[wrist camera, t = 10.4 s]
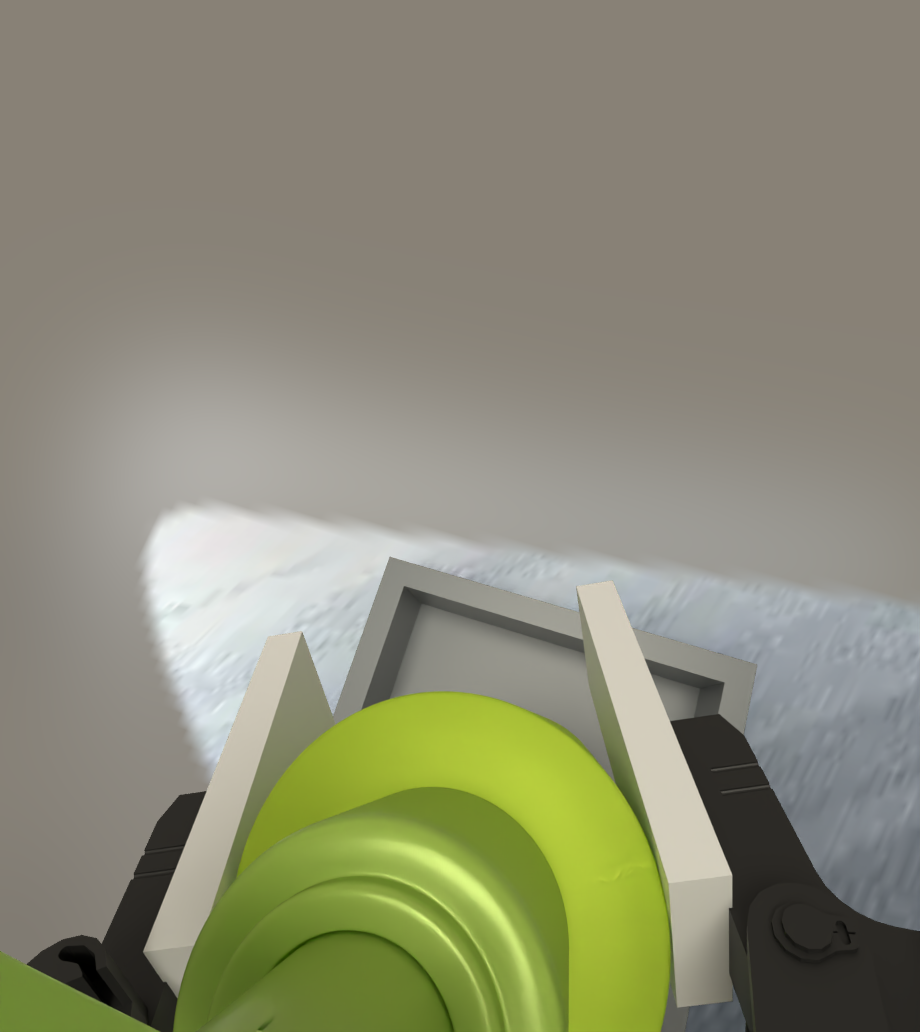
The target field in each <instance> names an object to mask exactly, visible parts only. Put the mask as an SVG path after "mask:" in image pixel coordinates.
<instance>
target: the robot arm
mask: <svg viewBox="0 0 920 1032" xmlns="http://www.w3.org/2000/svg"><path fill="white" fill-rule="evenodd" d="M576 588H577V596H578V604H579V612H580V620H581V628H582V635H583V643H584V651H585V659H586V667H587V675H588V683H589V688H590V692H591V696H592V699H593V703H594V706H595V710H596V714H597V717H598V721H599V725H600V728H601V732H602V736H603V739H604V743H605V747H606V750H607V754H608V757H609V761H610V765H611V768H612V772H613V776H614V779H615V783H616V785H617V787H618V788H619V790H620V791H621V793H622V794H623V795H624V797H625V799H626V800H627V802H628V803H629V805H630V807H631V808H632V810H633V812H634V814H635V816H636V817H637V819H638V821H639V823H640V825H641V827H642V829H643V831H644V834H645V836H646V838H647V840H648V843H649V845H650V848H651V850H652V853H653V856H654V859H655V862H656V865H657V868H658V871H659V875H660V878H661V882H662V887H663V891H664V896H665V901H666V906H667V913H668V920H669V930H670V947H671V966H670V983H671V987H672V990H673V994H674V998H675V1001H676V1005H677V1008H678V1007H687V1006H695V1005H704V1004H712V1003H721V1002H730V1001H733V991H732V983H733V986H734V989H735V991H736V994H737V997H738V1000H739V1003H740V1006H741V1009H742V1011H743V1014H744V1017H745V1020H746V1031H745V1032H920V931H914V930H909V929H904V928H899V927H894V926H891V925H887V924H884V923H880V922H877V921H874V920H872V919H870V918H868V917H866V916H864V915H862V914H860V913H858V912H856V911H854V910H853V909H852V908H850V907H849V906H847V905H846V904H844V903H843V902H842V901H840V900H839V899H838V898H837V897H836V896H835V895H834V894H833V893H832V892H831V891H830V890H829V889H828V888H827V887H826V886H825V884H824V883H823V881H822V880H821V878H820V877H819V875H818V874H817V872H816V871H815V869H814V867H813V865H812V863H811V861H810V859H809V857H808V855H807V854H806V852H805V850H804V848H803V846H802V844H801V842H800V840H799V838H798V837H797V835H796V833H795V831H794V829H793V827H792V825H791V823H790V821H789V820H788V818H787V816H786V814H785V812H784V810H783V808H782V806H781V804H780V803H779V801H778V799H777V797H776V795H775V793H774V791H773V789H771V788H770V785H769V782H768V780H767V778H766V776H765V774H764V772H763V770H762V769H761V767H759V765H758V761H757V759H756V757H755V755H754V753H753V752H752V750H751V748H750V746H749V744H748V742H747V740H746V738H745V736H744V735H743V734H742V733H741V732H740V731H739V730H737V729H736V728H735V727H734V726H733V725H732V724H730V723H729V722H728V721H727V720H726V719H725V718H723V717H722V716H721V715H720V714H715V715H708V716H701V717H694V718H688V719H681V720H674V721H669V718H668V716H667V713H666V711H665V708H664V706H663V703H662V701H661V698H660V696H659V693H658V691H657V689H656V686H655V684H654V681H653V679H652V676H651V674H650V671H649V669H648V666H647V664H646V661H645V659H644V657H643V654H642V652H641V649H640V647H639V644H638V642H637V639H636V637H635V634H634V632H633V629H632V627H631V625H630V622H629V620H628V617H627V615H626V612H625V610H624V607H623V605H622V602H621V600H620V597H619V595H618V593H617V590H616V588H615V585H614V583H613V580H612V581H606V582H600V583H594V584H588V585H582V586H576ZM334 725H336V724H335V721H334V718H333V716H332V713H331V710H330V707H329V705H328V702H327V699H326V696H325V694H324V691H323V688H322V685H321V682H320V680H319V677H318V674H317V671H316V669H315V666H314V663H313V660H312V657H311V655H310V652H309V649H308V646H307V644H306V641H305V638H304V635H303V633H302V631H300V632H294V633H288V634H282V635H275V636H269V637H268V638H267V640H266V643H265V646H264V648H263V651H262V653H261V656H260V658H259V661H258V663H257V666H256V668H255V671H254V673H253V676H252V678H251V681H250V683H249V686H248V688H247V691H246V693H245V696H244V698H243V701H242V704H241V706H240V709H239V711H238V714H237V716H236V719H235V721H234V724H233V726H232V729H231V731H230V734H229V736H228V739H227V741H226V744H225V746H224V749H223V751H222V754H221V756H220V759H219V762H218V764H217V767H216V769H215V772H214V774H213V777H212V779H211V782H210V784H209V787H208V789H207V791H204V792H198V793H191V794H184V795H179V797H178V798H177V799H176V800H175V802H173V804H172V805H171V806H170V807H169V808H168V810H167V811H166V812H165V813H164V814H163V816H162V817H161V818H160V819H159V820H158V822H157V824H156V826H155V828H154V830H153V832H152V835H151V837H150V839H149V841H148V843H147V846H146V848H145V855H144V856H142V857H141V859H140V861H139V864H138V866H137V868H136V870H135V872H134V879H133V880H131V881H130V883H129V885H128V887H127V890H126V892H125V894H124V896H123V898H122V901H121V903H120V905H119V907H118V909H117V912H116V914H115V916H114V918H113V921H112V923H111V925H110V927H109V929H108V931H107V934H106V936H105V938H104V940H103V942H102V944H101V943H100V942H99V941H98V940H97V938H93V937H88V936H84V935H80V936H76V937H71V938H67V939H63V940H61V941H59V942H57V943H56V944H54V945H52V946H50V947H48V948H47V949H45V950H43V951H41V952H40V953H39V954H38V955H37V956H36V957H34V959H32V960H31V961H30V962H29V963H28V964H26V965H28V966H30V967H32V968H34V969H36V970H38V971H40V972H42V973H44V974H46V975H48V976H50V977H52V978H54V979H56V980H58V981H60V982H62V983H64V984H66V985H68V986H70V987H72V988H74V989H76V990H78V991H80V992H82V993H84V994H86V995H88V996H90V997H92V998H94V999H96V1000H98V1001H100V1002H102V1003H104V1004H106V1005H108V1006H110V1007H112V1008H114V1009H116V1010H118V1011H120V1012H122V1013H124V1014H126V1015H128V1016H130V1017H132V1018H134V1019H136V1020H138V1021H140V1022H142V1023H144V1024H146V1025H148V1026H150V1027H152V1028H154V1029H156V1030H158V1031H160V1032H173V1026H174V1017H175V1011H176V1005H177V1000H178V995H179V990H180V986H181V982H182V979H183V975H184V972H185V969H186V966H187V963H188V960H189V957H190V954H191V952H192V949H193V947H194V944H195V942H196V940H197V938H198V936H199V933H200V931H201V930H202V928H203V926H204V924H205V922H206V920H207V918H208V917H209V915H210V913H211V912H212V910H213V908H214V907H215V905H216V904H217V902H218V901H219V899H220V898H221V897H222V895H223V894H224V893H225V891H226V890H227V889H228V888H229V886H230V885H231V884H232V883H233V882H234V881H235V879H236V877H237V872H238V868H239V864H240V861H241V857H242V854H243V851H244V848H245V845H246V842H247V839H248V837H249V834H250V832H251V829H252V827H253V825H254V822H255V820H256V818H257V816H258V814H259V812H260V810H261V808H262V806H263V804H264V803H265V801H266V799H267V797H268V796H269V794H270V793H271V791H272V789H273V788H274V786H275V785H276V783H277V782H278V781H279V779H280V778H281V776H282V775H283V774H284V773H285V771H286V770H287V769H288V768H289V766H290V765H291V764H292V763H293V762H294V761H295V759H296V758H297V757H298V756H299V755H300V754H301V753H302V752H303V751H304V750H305V749H306V748H307V747H308V746H309V745H310V744H311V743H312V742H314V741H315V740H316V739H317V738H318V737H319V736H321V735H322V734H323V733H325V732H326V731H327V730H328V729H330V728H331V727H333V726H334Z"/></svg>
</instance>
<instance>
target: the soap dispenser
mask: <svg viewBox="0 0 920 1032" xmlns="http://www.w3.org/2000/svg"><path fill="white" fill-rule="evenodd" d="M670 966H671V947H670V930H669V920H668V913H667V906H666V901H665V896H664V891H663V887H662V882H661V878H660V875H659V871H658V868H657V865H656V862H655V859H654V856H653V853H652V850H651V848H650V845H649V843H648V840H647V838H646V836H645V834H644V831H643V829H642V827H641V825H640V823H639V821H638V819H637V817H636V816H635V814H634V812H633V810H632V808H631V807H630V805H629V803H628V802H627V800H626V799H625V797H624V795H623V794H622V793H621V791H620V790H619V788H618V787H617V785H616V784H615V783H614V781H613V780H612V779H611V777H610V776H609V775H608V774H607V772H606V771H605V770H604V769H603V768H602V766H601V765H600V764H599V763H598V761H597V760H596V759H595V758H594V757H593V755H592V754H591V753H590V752H589V750H588V749H587V748H586V747H585V746H584V744H583V743H582V742H581V741H580V740H579V739H578V738H577V737H576V736H575V735H573V734H572V733H571V732H570V731H568V730H567V729H566V728H564V727H563V726H561V725H560V724H558V723H556V722H554V721H552V720H550V719H548V718H545V717H543V716H540V715H538V714H536V713H533V712H531V711H528V710H526V709H524V708H521V707H519V706H516V705H514V704H511V703H508V702H505V701H502V700H499V699H496V698H492V697H488V696H483V695H478V694H472V693H465V692H452V691H435V692H422V693H415V694H409V695H404V696H399V697H395V698H392V699H388V700H385V701H382V702H379V703H376V704H374V705H371V706H369V707H367V708H364V709H362V710H360V711H358V712H356V713H354V714H352V715H350V716H349V717H347V718H345V719H344V720H342V721H340V722H339V723H337V724H336V725H334V726H333V727H331V728H330V729H328V730H327V731H326V732H325V733H323V734H322V735H321V736H319V737H318V738H317V739H316V740H315V741H314V742H312V743H311V744H310V745H309V746H308V747H307V748H306V749H305V750H304V751H303V752H302V753H301V754H300V755H299V756H298V757H297V758H296V759H295V761H294V762H293V763H292V764H291V765H290V766H289V768H288V769H287V770H286V771H285V773H284V774H283V775H282V776H281V778H280V779H279V781H278V782H277V783H276V785H275V786H274V788H273V789H272V791H271V793H270V794H269V796H268V797H267V799H266V801H265V803H264V804H263V806H262V808H261V810H260V812H259V814H258V816H257V818H256V820H255V822H254V825H253V827H252V829H251V832H250V834H249V837H248V839H247V842H246V845H245V848H244V851H243V854H242V857H241V861H240V864H239V868H238V872H237V877H236V879H235V881H234V882H233V883H232V884H231V885H230V886H229V888H228V889H227V890H226V891H225V893H224V894H223V895H222V897H221V898H220V899H219V901H218V902H217V904H216V905H215V907H214V908H213V910H212V912H211V913H210V915H209V917H208V918H207V920H206V922H205V924H204V926H203V928H202V930H201V931H200V933H199V936H198V938H197V940H196V942H195V944H194V947H193V949H192V952H191V954H190V957H189V960H188V963H187V966H186V969H185V972H184V975H183V979H182V982H181V986H180V990H179V995H178V1000H177V1005H176V1011H175V1017H174V1026H173V1032H661V1028H662V1024H663V1020H664V1016H665V1011H666V1005H667V999H668V991H669V982H670ZM0 1032H160V1031H158V1030H156V1029H154V1028H152V1027H150V1026H148V1025H146V1024H144V1023H142V1022H140V1021H138V1020H136V1019H134V1018H132V1017H130V1016H128V1015H126V1014H124V1013H122V1012H120V1011H118V1010H116V1009H114V1008H112V1007H110V1006H108V1005H106V1004H104V1003H102V1002H100V1001H98V1000H96V999H94V998H92V997H90V996H88V995H86V994H84V993H82V992H80V991H78V990H76V989H74V988H72V987H70V986H68V985H66V984H64V983H62V982H60V981H58V980H56V979H54V978H52V977H50V976H48V975H46V974H44V973H42V972H40V971H38V970H36V969H34V968H32V967H30V966H28V965H26V964H24V963H22V962H20V961H18V960H17V959H15V958H12V957H11V956H9V955H7V954H5V953H3V952H1V951H0Z"/></svg>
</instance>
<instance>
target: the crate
mask: <svg viewBox="0 0 920 1032" xmlns="http://www.w3.org/2000/svg"><path fill="white" fill-rule="evenodd" d="M632 629H633V632H634V634H635V637H636V639H637V642H638V644H639V647H640V649H641V652H642V654H643V657H644V659H645V661H646V664H647V666H648V669H649V671H650V674H651V676H652V679H653V681H654V684H655V686H656V689H657V691H658V693H659V696H660V698H661V701H662V703H663V706H664V708H665V711H666V713H667V716H668V718H669V721H674V720H681V719H688V718H694V717H701V716H708V715H715V714H720V715H721V716H722V717H723V718H725V719H726V720H727V721H728V722H729V723H730V724H732V725H733V726H734V727H735V728H736V729H737V730H739V731H740V732H741V733H742V734H743V735H744V730H745V725H746V720H747V715H748V710H749V704H750V699H751V694H752V689H753V684H754V679H755V674H756V669H757V664H753V663H750V662H746V661H743V660H740V659H736V658H733V657H729V656H726V655H723V654H719V653H716V652H712V651H709V650H706V649H702V648H699V647H695V646H692V645H689V644H685V643H682V642H678V641H675V640H671V639H668V638H665V637H661V636H658V635H654V634H651V633H648V632H644V631H641V630H637V629H634V628H632ZM435 691H452V692H465V693H472V694H478V695H483V696H488V697H492V698H496V699H499V700H502V701H505V702H508V703H511V704H514V705H516V706H519V707H521V708H524V709H526V710H528V711H531V712H533V713H536V714H538V715H540V716H543V717H545V718H548V719H550V720H552V721H554V722H556V723H558V724H560V725H561V726H563V727H564V728H566V729H567V730H568V731H570V732H571V733H572V734H573V735H575V736H576V737H577V738H578V739H579V740H580V741H581V742H582V743H583V744H584V746H585V747H586V748H587V749H588V750H589V752H590V753H591V754H592V755H593V757H594V758H595V759H596V760H597V761H598V763H599V764H600V765H601V766H602V768H603V769H604V770H605V771H606V772H607V774H608V775H609V776H610V777H611V779H612V780H613V781H614V783H615V779H614V776H613V772H612V768H611V765H610V761H609V757H608V754H607V750H606V747H605V743H604V739H603V736H602V732H601V728H600V725H599V721H598V717H597V714H596V710H595V706H594V703H593V699H592V696H591V692H590V688H589V683H588V675H587V667H586V659H585V651H584V643H583V635H582V628H581V620H580V612H576V611H573V610H569V609H566V608H562V607H559V606H556V605H552V604H549V603H545V602H542V601H539V600H535V599H532V598H528V597H525V596H522V595H518V594H515V593H511V592H508V591H505V590H501V589H498V588H494V587H491V586H488V585H484V584H481V583H477V582H474V581H470V580H467V579H464V578H460V577H457V576H453V575H450V574H447V573H443V572H440V571H436V570H433V569H430V568H426V567H423V566H419V565H416V564H413V563H409V562H406V561H402V560H399V559H396V558H392V557H390V558H389V560H388V563H387V566H386V569H385V572H384V575H383V577H382V580H381V583H380V586H379V589H378V591H377V594H376V597H375V600H374V603H373V605H372V608H371V611H370V614H369V617H368V620H367V622H366V625H365V628H364V631H363V634H362V636H361V639H360V642H359V645H358V648H357V650H356V653H355V656H354V659H353V662H352V665H351V667H350V670H349V673H348V676H347V679H346V681H345V684H344V687H343V690H342V693H341V696H340V698H339V701H338V704H337V707H336V710H335V712H334V715H333V718H334V721H335V724H337V723H339V722H340V721H342V720H344V719H345V718H347V717H349V716H350V715H352V714H354V713H356V712H358V711H360V710H362V709H364V708H367V707H369V706H371V705H374V704H376V703H379V702H382V701H385V700H388V699H392V698H395V697H399V696H404V695H409V694H415V693H422V692H435ZM615 784H616V783H615ZM689 1008H690V1006H687V1007H678V1008H677V1005H676V1001H675V998H674V994H673V990H672V987H671V983H670V982H669V991H668V999H667V1005H666V1011H665V1016H664V1020H663V1024H662V1028H661V1032H685V1028H686V1023H687V1018H688V1013H689Z"/></svg>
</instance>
